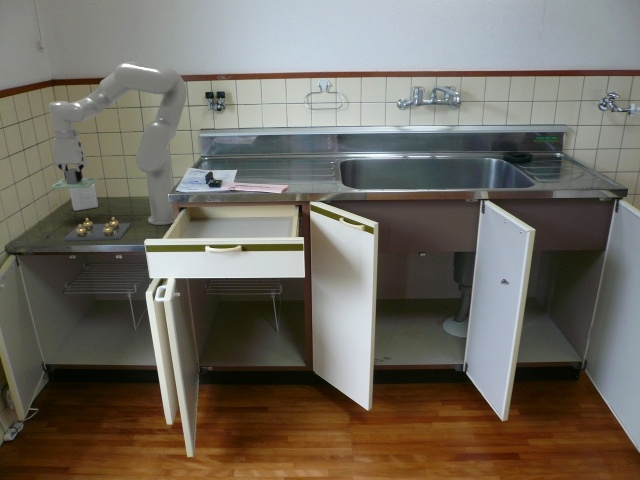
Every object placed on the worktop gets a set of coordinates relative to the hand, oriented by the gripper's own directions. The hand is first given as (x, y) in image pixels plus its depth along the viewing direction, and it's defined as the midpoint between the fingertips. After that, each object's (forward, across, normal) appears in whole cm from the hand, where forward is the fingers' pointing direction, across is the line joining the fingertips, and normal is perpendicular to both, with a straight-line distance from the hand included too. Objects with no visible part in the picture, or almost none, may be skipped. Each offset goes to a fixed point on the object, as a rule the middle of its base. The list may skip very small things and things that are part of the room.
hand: (74, 180), depth 210 cm
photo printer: (+17, +4, -16) cm, 24 cm away
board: (+2, 0, 0) cm, 2 cm away
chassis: (+17, -12, +15) cm, 25 cm away
